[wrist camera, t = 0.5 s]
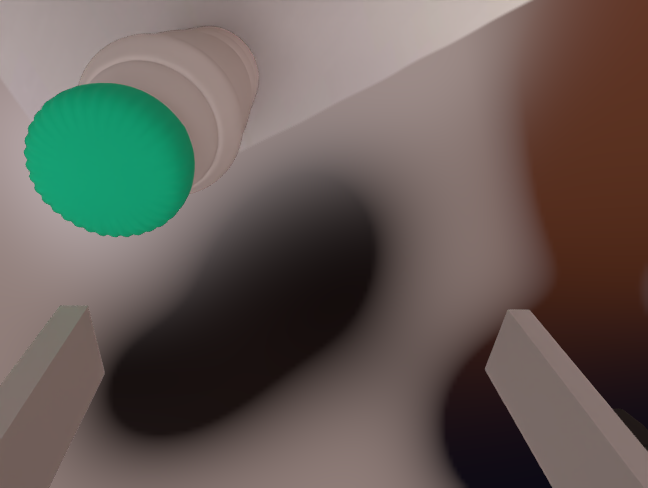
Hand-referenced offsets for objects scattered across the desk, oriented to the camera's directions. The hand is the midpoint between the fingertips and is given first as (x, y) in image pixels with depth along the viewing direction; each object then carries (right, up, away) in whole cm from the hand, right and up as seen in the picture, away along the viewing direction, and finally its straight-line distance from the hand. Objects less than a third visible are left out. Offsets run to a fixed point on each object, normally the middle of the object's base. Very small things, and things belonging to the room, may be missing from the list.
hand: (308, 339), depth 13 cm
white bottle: (-8, +17, +21) cm, 28 cm away
